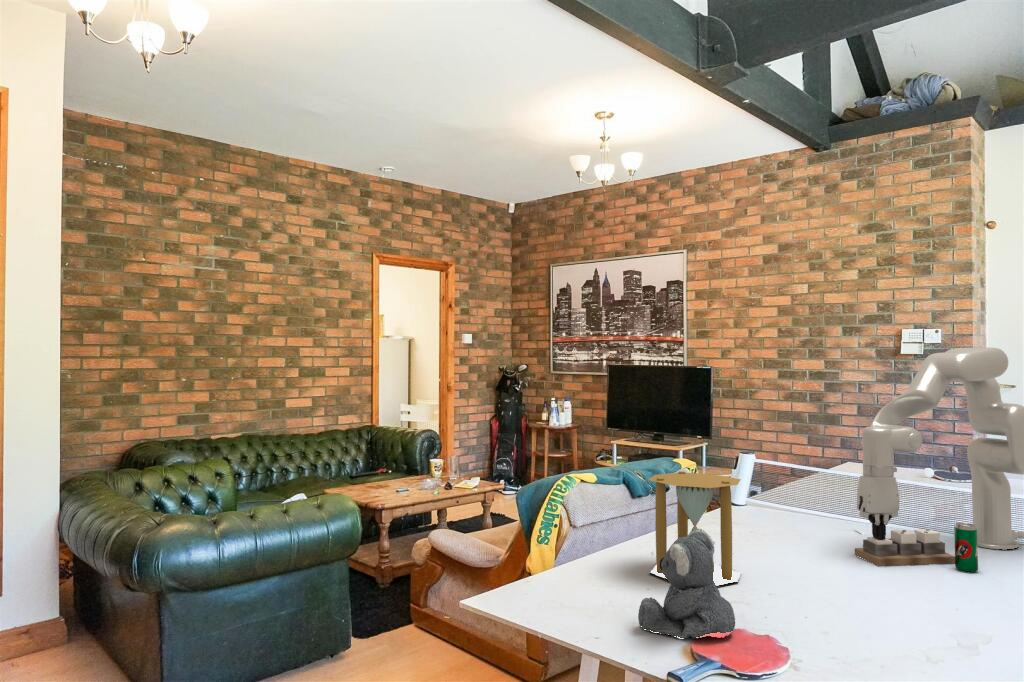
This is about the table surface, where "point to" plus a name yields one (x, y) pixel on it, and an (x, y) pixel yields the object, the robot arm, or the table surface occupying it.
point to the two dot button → (927, 536)
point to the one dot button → (879, 541)
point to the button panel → (905, 553)
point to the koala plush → (689, 592)
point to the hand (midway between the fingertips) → (879, 538)
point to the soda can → (966, 547)
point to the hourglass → (694, 510)
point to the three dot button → (903, 536)
